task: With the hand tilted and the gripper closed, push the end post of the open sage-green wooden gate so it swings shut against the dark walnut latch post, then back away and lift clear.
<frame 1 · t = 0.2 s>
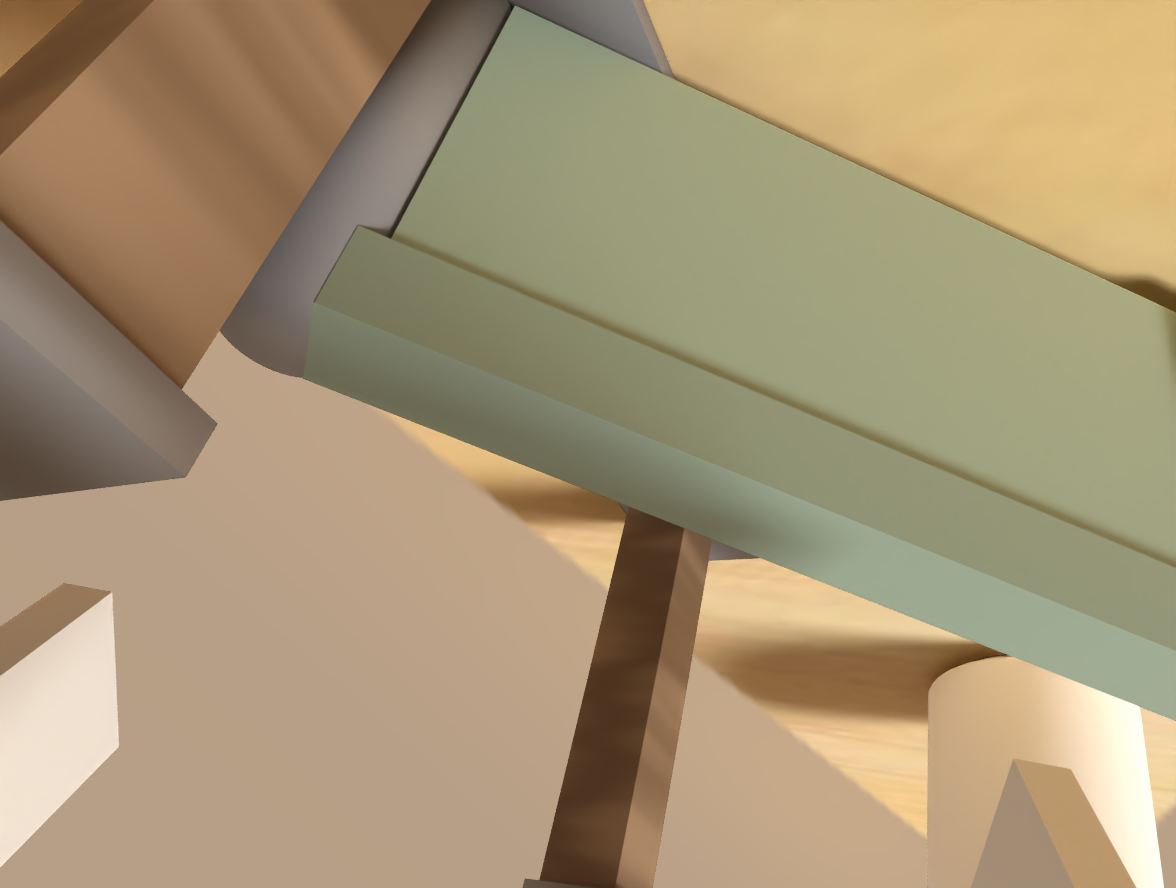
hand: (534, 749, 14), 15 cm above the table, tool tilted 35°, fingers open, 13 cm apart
white cylinder: (1028, 684, 40), on the table
gate: (840, 342, 19), point 6 cm above the table, hinge at 45.0°
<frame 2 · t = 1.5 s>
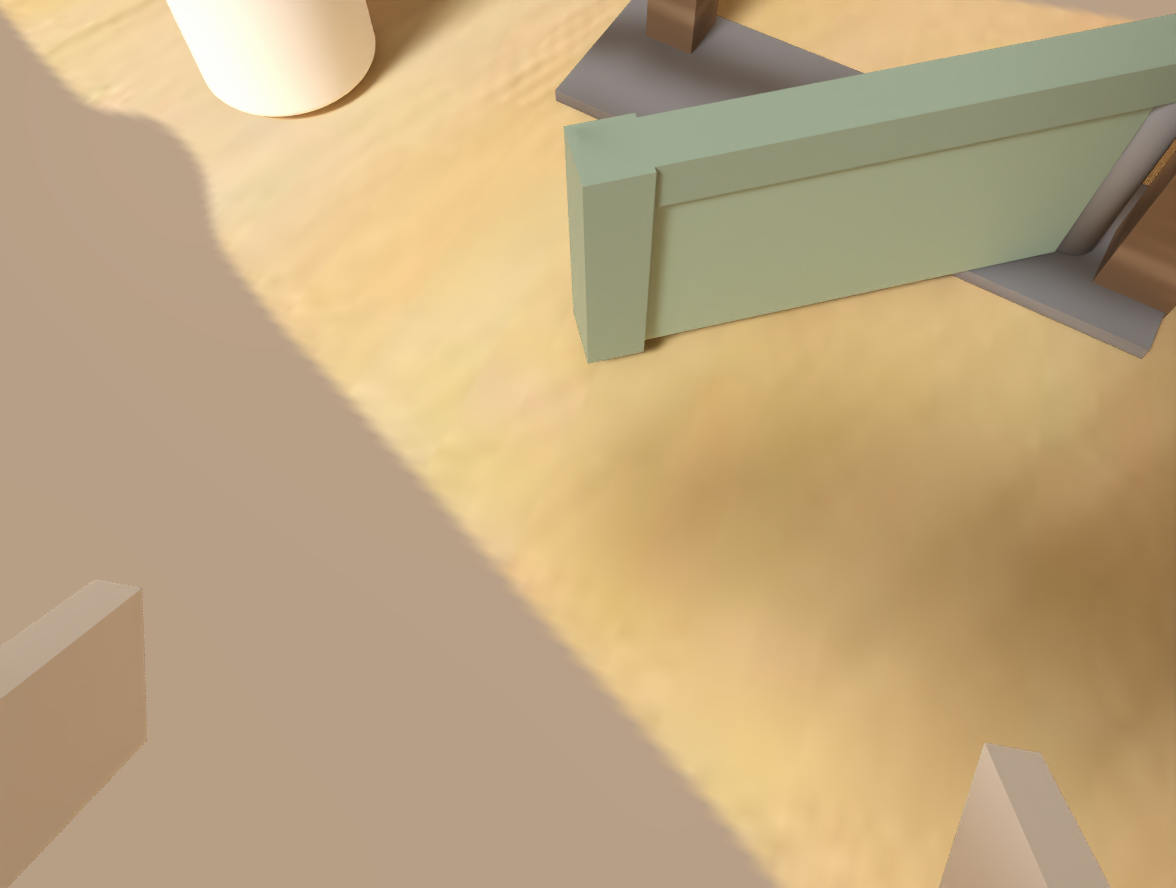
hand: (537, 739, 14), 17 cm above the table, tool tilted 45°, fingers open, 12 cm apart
gate frame: (1059, 248, 39), on the table
white cylinder: (294, 67, 45), on the table
gate: (876, 197, 33), point 6 cm above the table, hinge at 45.0°
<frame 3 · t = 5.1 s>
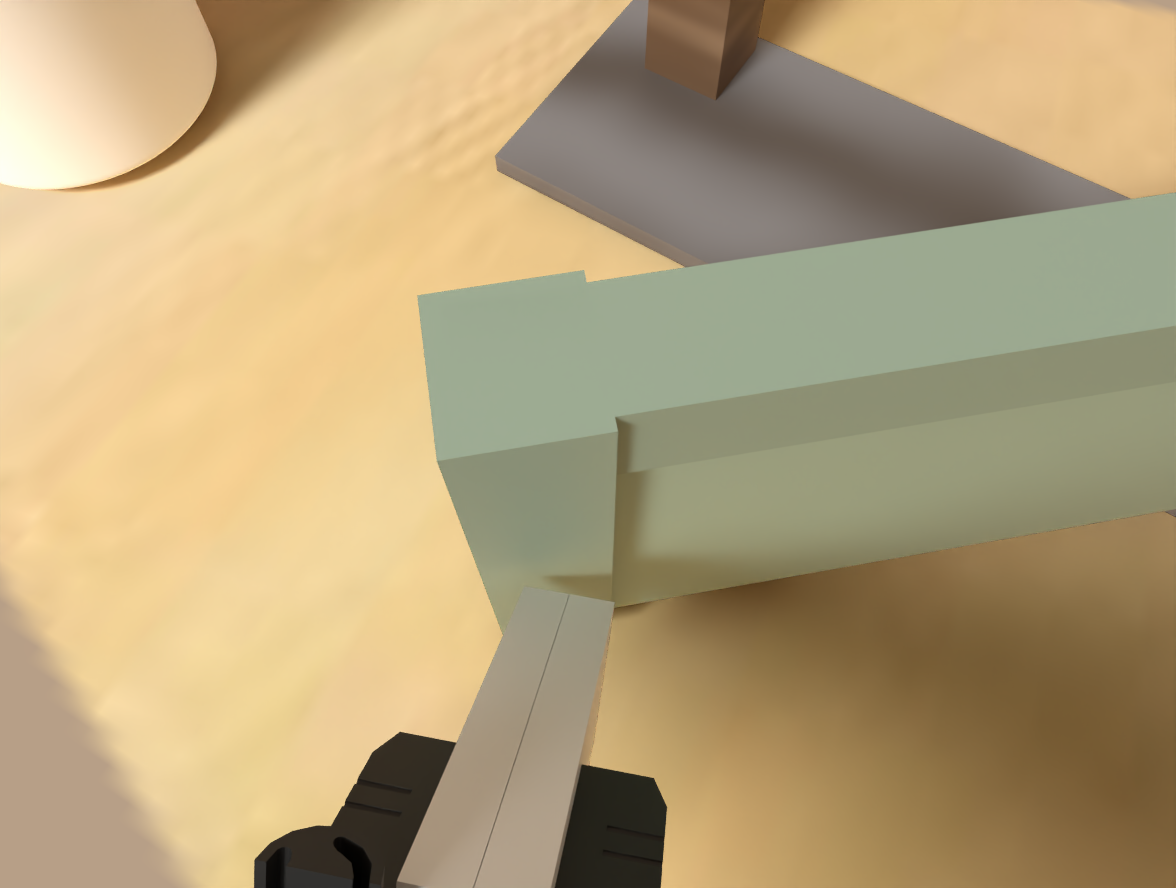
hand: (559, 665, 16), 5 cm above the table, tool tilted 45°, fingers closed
white cylinder: (93, 103, 29), on the table
gate: (1069, 415, 17), point 6 cm above the table, hinge at 42.9°, touching gripper
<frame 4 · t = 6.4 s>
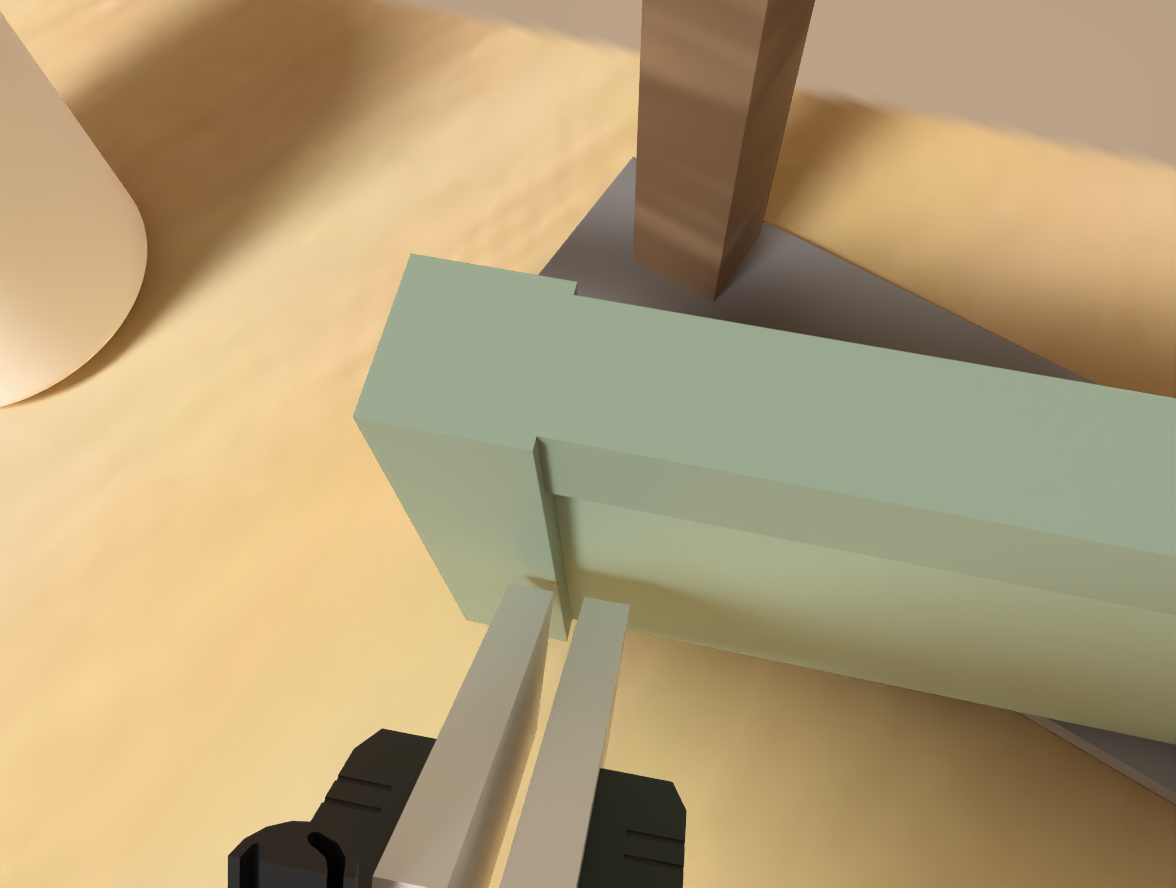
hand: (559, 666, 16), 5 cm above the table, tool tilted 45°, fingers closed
white cylinder: (10, 294, 25), on the table
gate: (1094, 609, 15), point 6 cm above the table, hinge at 20.9°, touching gripper
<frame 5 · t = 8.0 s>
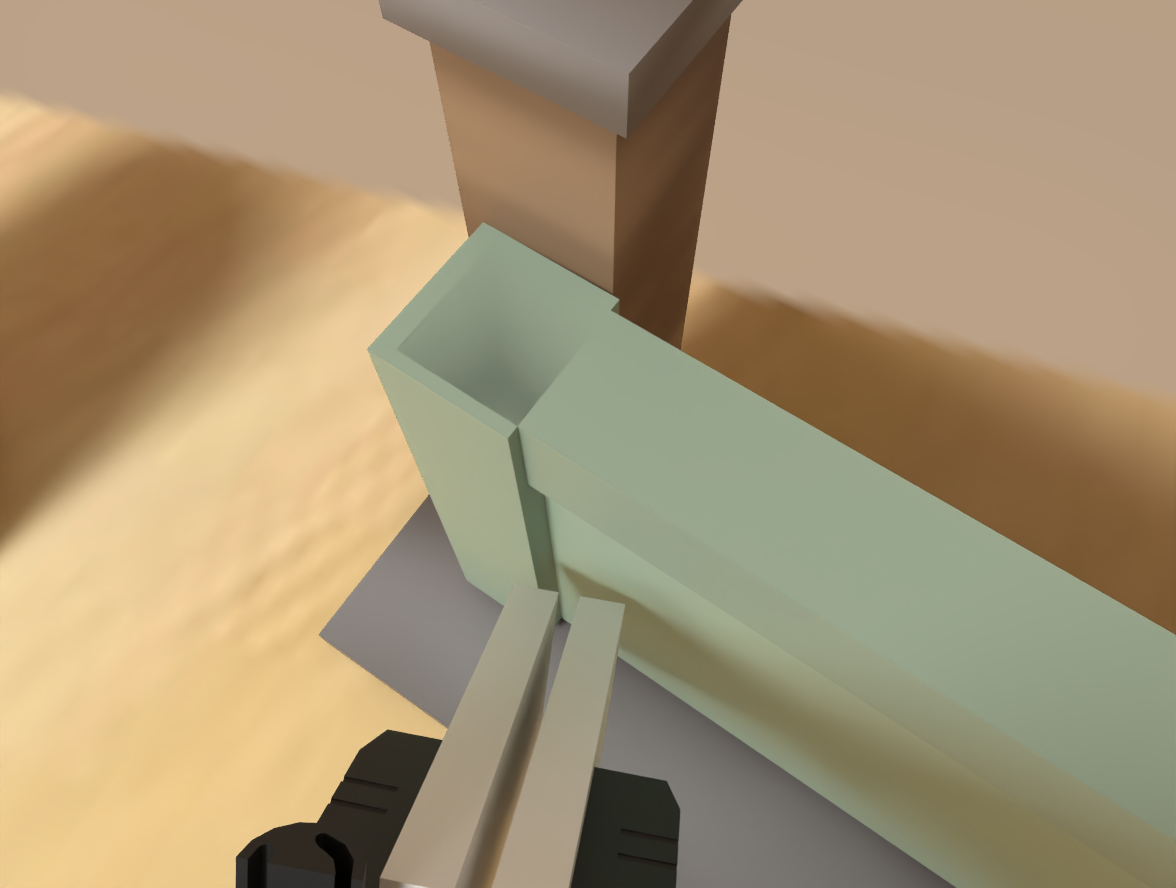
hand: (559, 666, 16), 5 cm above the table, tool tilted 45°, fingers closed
gate: (1046, 814, 14), point 6 cm above the table, hinge at -1.1°, touching gate frame, gripper
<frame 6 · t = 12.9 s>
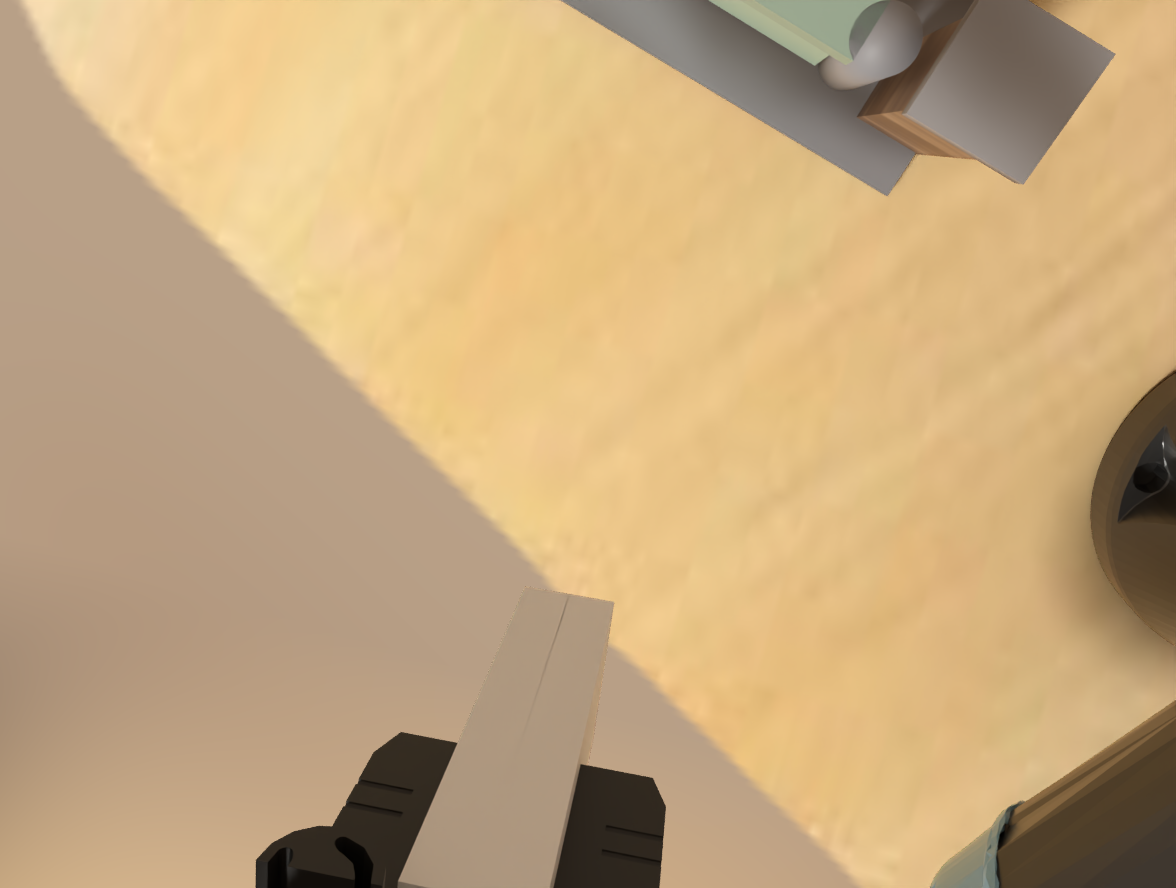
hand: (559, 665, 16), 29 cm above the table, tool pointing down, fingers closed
gate frame: (842, 64, 39), on the table
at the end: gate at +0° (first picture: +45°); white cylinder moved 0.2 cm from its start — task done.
